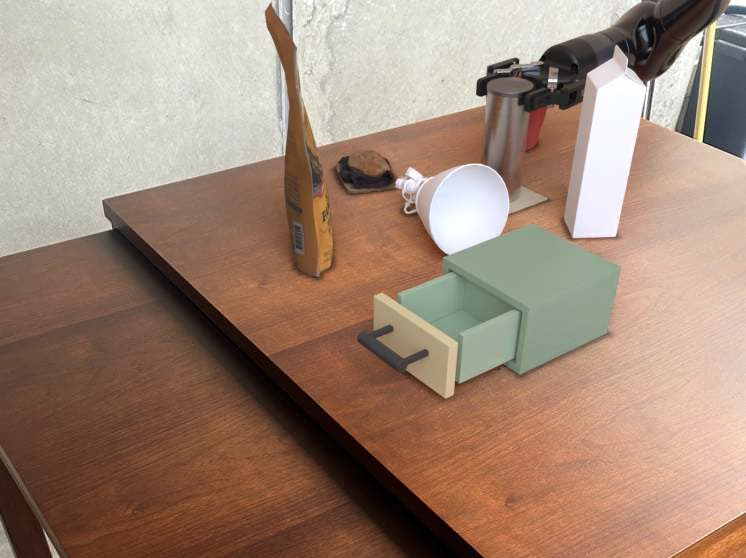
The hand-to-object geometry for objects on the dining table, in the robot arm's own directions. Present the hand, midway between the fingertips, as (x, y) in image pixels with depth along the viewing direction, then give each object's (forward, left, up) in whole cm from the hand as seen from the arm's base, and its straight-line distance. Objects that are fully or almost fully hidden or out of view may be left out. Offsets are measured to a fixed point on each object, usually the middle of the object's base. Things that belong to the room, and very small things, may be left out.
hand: (501, 96), depth 116 cm
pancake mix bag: (+30, -4, -14) cm, 33 cm away
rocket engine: (+11, +3, -14) cm, 18 cm away
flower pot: (-17, -14, -14) cm, 27 cm away
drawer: (+33, +28, -13) cm, 46 cm away
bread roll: (+10, -18, -14) cm, 25 cm away
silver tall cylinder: (-2, 0, -14) cm, 14 cm away
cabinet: (+21, +28, -14) cm, 37 cm away
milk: (-5, +15, -14) cm, 21 cm away
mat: (-1, 0, -14) cm, 14 cm away
